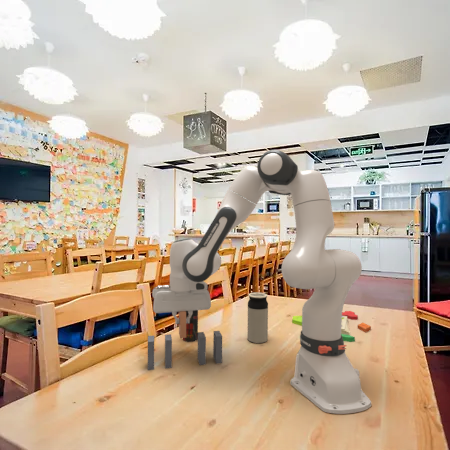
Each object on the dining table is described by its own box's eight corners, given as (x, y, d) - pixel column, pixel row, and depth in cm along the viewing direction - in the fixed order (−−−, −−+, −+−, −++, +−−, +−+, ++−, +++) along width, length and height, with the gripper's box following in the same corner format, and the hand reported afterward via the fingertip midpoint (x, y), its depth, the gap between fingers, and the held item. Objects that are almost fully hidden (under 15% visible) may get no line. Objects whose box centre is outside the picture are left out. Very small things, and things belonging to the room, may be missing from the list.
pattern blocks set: (383, 345, 119) (383, 337, 119) (294, 339, 125) (294, 331, 125) (357, 315, 157) (357, 309, 157) (290, 311, 162) (290, 305, 162)
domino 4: (203, 357, 106) (203, 331, 106) (205, 364, 101) (205, 337, 101) (197, 358, 106) (197, 332, 106) (199, 365, 101) (199, 337, 101)
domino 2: (170, 360, 104) (171, 334, 104) (171, 367, 99) (171, 340, 99) (164, 361, 103) (165, 334, 103) (165, 368, 99) (165, 340, 98)
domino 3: (184, 333, 113) (184, 308, 113) (186, 337, 108) (186, 311, 108) (179, 333, 112) (178, 308, 112) (180, 338, 107) (180, 312, 107)
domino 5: (218, 356, 108) (219, 330, 107) (222, 363, 103) (222, 336, 102) (213, 356, 107) (213, 331, 107) (216, 363, 102) (216, 336, 102)
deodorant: (180, 337, 124) (180, 300, 124) (194, 335, 127) (194, 298, 126) (185, 343, 119) (186, 304, 119) (200, 340, 122) (200, 302, 121)
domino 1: (154, 362, 103) (154, 335, 102) (154, 369, 98) (154, 341, 98) (147, 363, 102) (148, 336, 102) (147, 370, 97) (147, 341, 97)
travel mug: (266, 344, 118) (267, 297, 118) (246, 342, 120) (246, 296, 119) (268, 336, 126) (268, 292, 125) (248, 335, 127) (249, 291, 127)
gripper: (152, 287, 104) (152, 328, 104) (211, 284, 109) (212, 323, 109) (152, 284, 110) (152, 323, 110) (208, 281, 115) (208, 318, 115)
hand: (182, 323), depth 110 cm, fingers closed on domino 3, 2 cm apart
